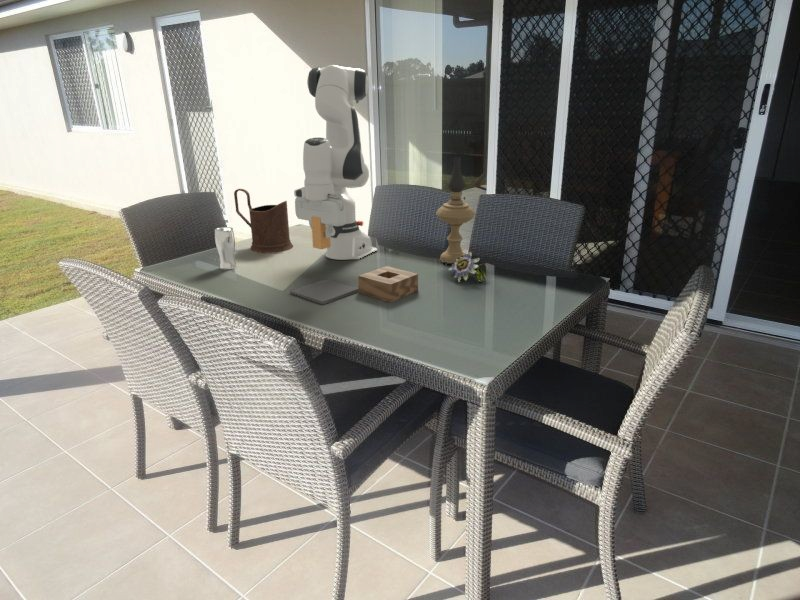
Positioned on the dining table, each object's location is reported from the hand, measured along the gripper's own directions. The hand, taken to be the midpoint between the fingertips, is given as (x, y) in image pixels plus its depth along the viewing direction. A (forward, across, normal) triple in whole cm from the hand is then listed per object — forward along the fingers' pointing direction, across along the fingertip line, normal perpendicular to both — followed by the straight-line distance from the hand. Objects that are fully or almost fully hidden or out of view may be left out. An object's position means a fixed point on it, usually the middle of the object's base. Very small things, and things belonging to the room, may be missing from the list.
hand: (321, 236), depth 171 cm
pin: (+4, 0, 0) cm, 4 cm away
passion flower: (+19, -29, -42) cm, 55 cm away
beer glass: (+19, +50, +4) cm, 54 cm away
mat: (+19, 0, 0) cm, 19 cm away
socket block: (+19, -16, -14) cm, 29 cm away
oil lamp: (+19, -12, -58) cm, 62 cm away
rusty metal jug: (+19, +64, -24) cm, 71 cm away
